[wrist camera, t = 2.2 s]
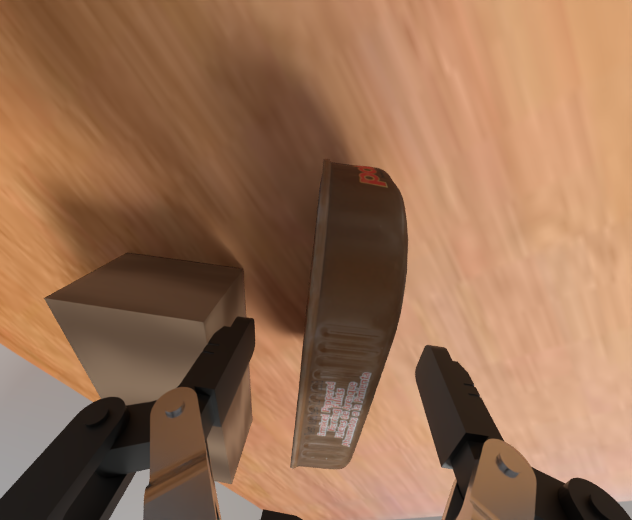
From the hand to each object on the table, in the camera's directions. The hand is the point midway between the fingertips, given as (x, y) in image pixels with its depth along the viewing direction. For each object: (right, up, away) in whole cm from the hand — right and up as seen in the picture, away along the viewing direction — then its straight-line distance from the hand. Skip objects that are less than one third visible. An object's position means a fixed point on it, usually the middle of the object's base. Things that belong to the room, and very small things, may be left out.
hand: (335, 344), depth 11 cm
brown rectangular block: (-11, -4, +9) cm, 14 cm away
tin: (0, +3, +4) cm, 5 cm away
